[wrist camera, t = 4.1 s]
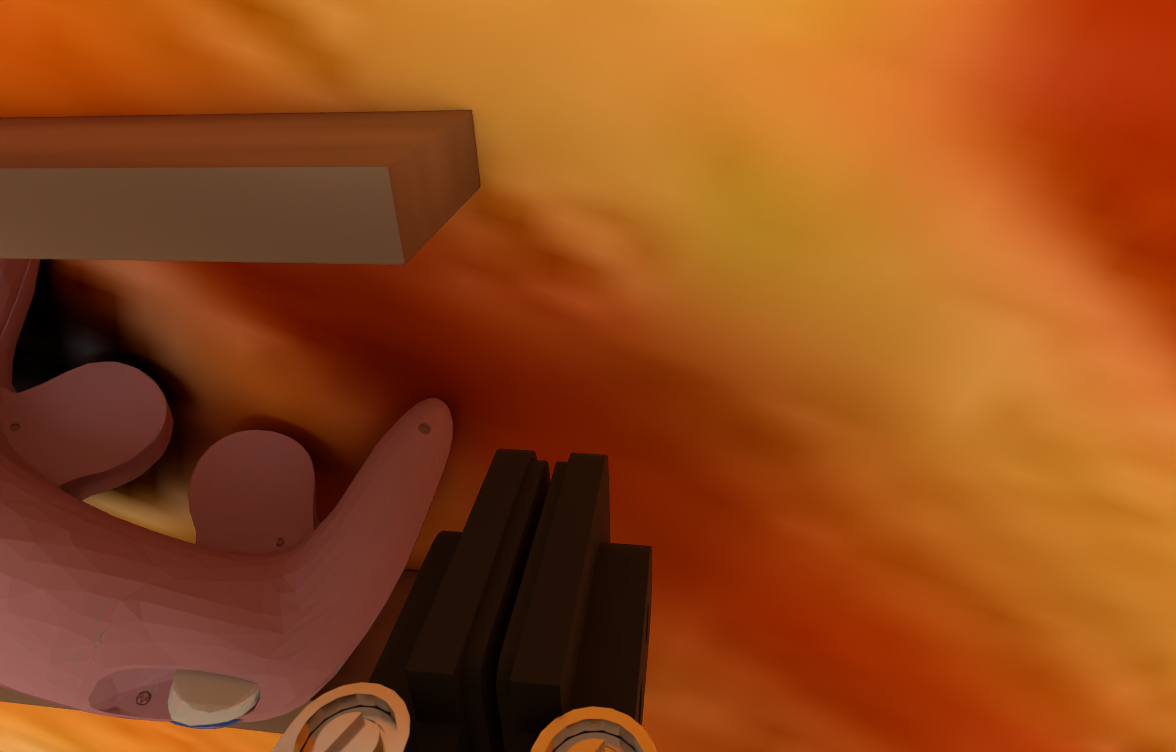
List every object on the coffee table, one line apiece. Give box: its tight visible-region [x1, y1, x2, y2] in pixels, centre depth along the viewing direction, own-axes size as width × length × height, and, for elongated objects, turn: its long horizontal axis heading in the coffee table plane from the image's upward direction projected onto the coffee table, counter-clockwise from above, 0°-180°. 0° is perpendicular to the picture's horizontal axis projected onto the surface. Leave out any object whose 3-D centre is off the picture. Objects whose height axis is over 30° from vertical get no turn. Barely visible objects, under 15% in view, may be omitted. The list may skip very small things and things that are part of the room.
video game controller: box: [0, 258, 453, 729], centre depth 13 cm, size 10×5×7 cm, turn 65°
